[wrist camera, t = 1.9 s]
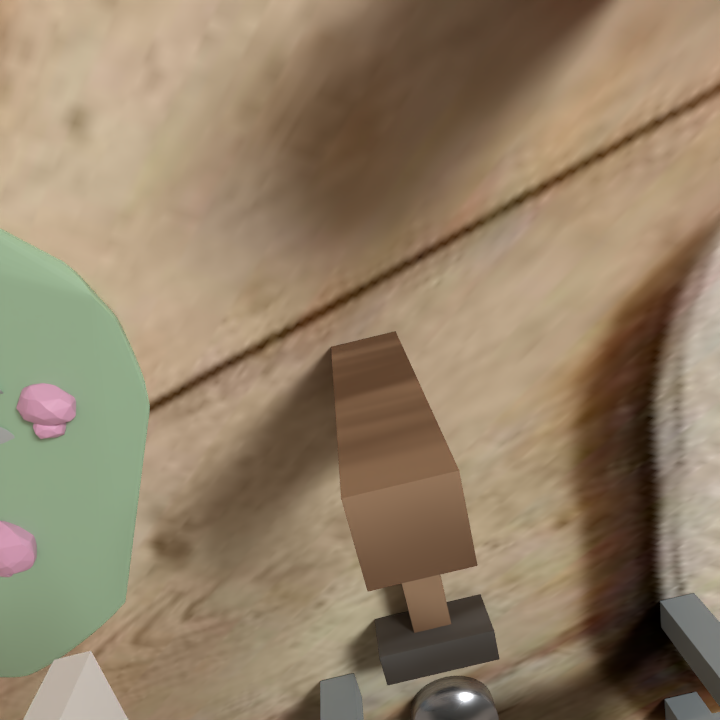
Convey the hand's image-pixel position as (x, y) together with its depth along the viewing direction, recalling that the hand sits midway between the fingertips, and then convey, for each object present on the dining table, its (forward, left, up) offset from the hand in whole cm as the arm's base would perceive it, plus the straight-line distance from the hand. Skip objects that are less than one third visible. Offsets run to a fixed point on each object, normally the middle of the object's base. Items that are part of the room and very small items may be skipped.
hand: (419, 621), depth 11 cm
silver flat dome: (0, +23, -15) cm, 27 cm away
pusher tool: (0, +8, -15) cm, 17 cm away
